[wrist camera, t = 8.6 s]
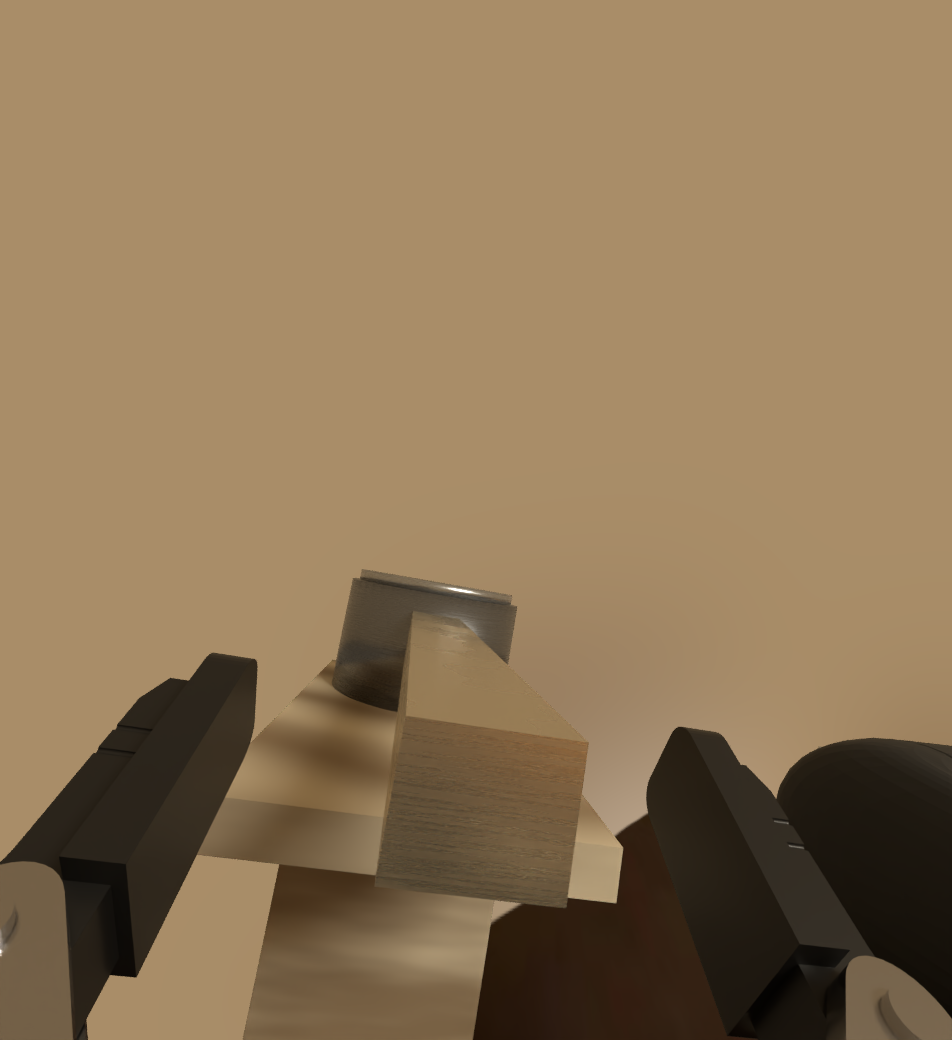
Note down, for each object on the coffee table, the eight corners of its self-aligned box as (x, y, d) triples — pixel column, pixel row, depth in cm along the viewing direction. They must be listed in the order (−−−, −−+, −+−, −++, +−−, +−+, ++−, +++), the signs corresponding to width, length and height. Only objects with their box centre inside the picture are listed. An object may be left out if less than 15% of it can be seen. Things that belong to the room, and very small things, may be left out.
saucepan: (344, 665, 34) (364, 569, 35) (487, 687, 35) (503, 593, 36) (-44, 1151, 5) (122, 535, 6) (823, 1200, 6) (861, 663, 7)
